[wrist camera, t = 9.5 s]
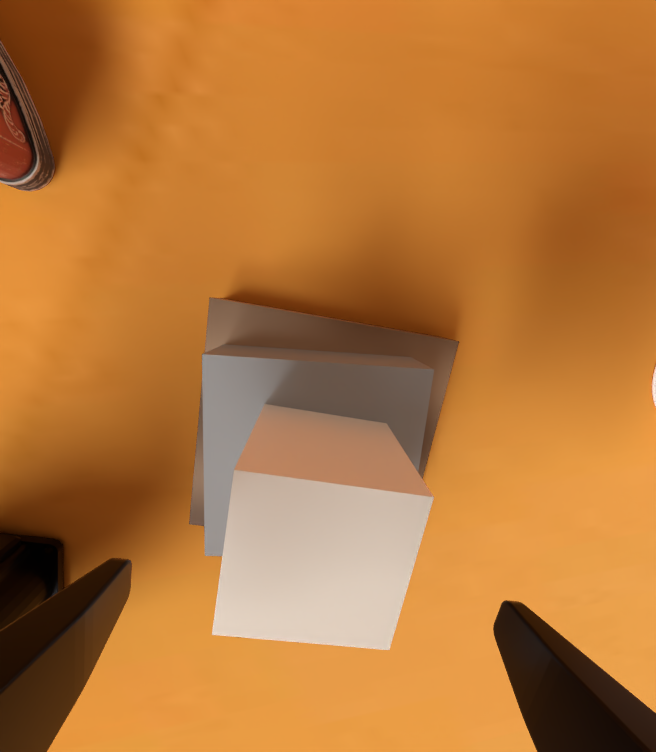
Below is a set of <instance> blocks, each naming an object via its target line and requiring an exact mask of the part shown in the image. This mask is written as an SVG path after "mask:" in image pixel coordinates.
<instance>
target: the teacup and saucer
mask: <svg viewBox="0 0 656 752" xmlns="http://www.w3.org/2000/svg"><path fill="white" fill-rule="evenodd" d="M652 396H653V401H654V404H655V407H656V366H655V369H654V373H653V379H652Z"/></svg>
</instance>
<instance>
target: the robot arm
mask: <svg viewBox="0 0 656 752" xmlns="http://www.w3.org/2000/svg"><path fill="white" fill-rule="evenodd" d="M131 570H132V563H131V561H130V560H128V559H120V558H111V559H109V560H107V561H106V562H104V563H103V564H101V565H99V566H98V567H96V568H95V569H93V570H92V571H90V572H89V573H87V574H86V575H84V576H83V577H81V578H80V579H78V580H77V581H75V582H74V583H72V584H70V585H69V586H67V587H66V588H64V589H63V544H62V543H61V542H60V541H59V540H56V539H50V538H41V537H32V536H23V535H14V534H5V533H0V752H47V750H48V749H49V747H50V745H51V744H52V742H53V740H54V739H55V737H56V735H57V733H58V732H59V730H60V728H61V727H62V725H63V723H64V722H65V720H66V718H67V716H68V715H69V713H70V711H71V710H72V708H73V706H74V705H75V703H76V701H77V699H78V698H79V696H80V694H81V692H82V690H83V689H84V687H85V685H86V683H87V681H88V679H89V677H90V675H91V673H92V671H93V669H94V667H95V665H96V663H97V661H98V659H99V657H100V655H101V653H102V651H103V649H104V647H105V644H106V642H107V640H108V638H109V636H110V634H111V632H112V630H113V628H114V626H115V624H116V622H117V620H118V618H119V616H120V614H121V612H122V610H123V608H124V606H125V604H126V601H127V599H128V596H129V593H130V588H131ZM493 630H494V636H495V640H496V642H497V645H498V648H499V651H500V654H501V657H502V660H503V662H504V665H505V668H506V671H507V674H508V677H509V680H510V682H511V685H512V688H513V691H514V694H515V697H516V699H517V702H518V705H519V708H520V711H521V713H522V716H523V719H524V721H525V723H526V726H527V728H528V731H529V733H530V736H531V738H532V740H533V743H534V745H535V747H536V750H537V752H656V713H655V712H653V711H652V710H651V709H650V708H649V707H647V706H646V705H645V704H644V703H643V702H641V701H640V700H639V699H638V698H637V697H635V696H634V695H633V694H632V693H630V692H629V691H628V690H627V689H626V688H624V687H623V686H622V685H621V684H620V683H618V682H617V681H616V680H615V679H614V678H612V677H611V676H610V675H609V674H607V673H606V672H605V671H604V670H603V669H601V668H600V667H599V666H598V665H597V664H595V663H594V662H593V661H592V660H591V659H589V658H588V657H587V656H586V655H585V654H583V653H582V652H581V651H580V650H578V649H577V648H576V647H575V646H574V645H572V644H571V643H570V642H569V641H568V640H566V639H565V638H564V637H563V636H562V635H560V634H559V633H558V632H557V631H556V630H554V629H553V628H552V627H551V626H549V625H548V624H547V623H546V622H545V621H543V620H542V619H541V618H540V617H539V616H537V615H536V614H535V613H534V612H533V611H531V610H530V609H529V608H528V607H527V606H525V605H524V604H523V603H521V602H517V601H507V600H506V601H504V602H503V603H502V604H501V607H500V609H499V612H498V615H497V617H496V620H495V623H494V627H493Z"/></svg>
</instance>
